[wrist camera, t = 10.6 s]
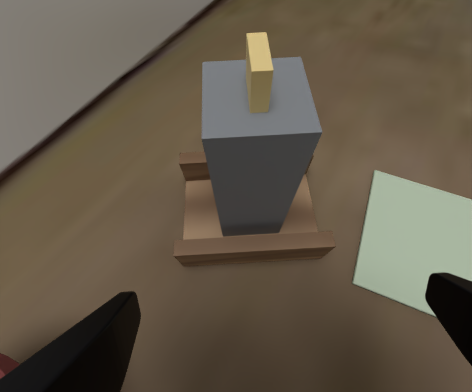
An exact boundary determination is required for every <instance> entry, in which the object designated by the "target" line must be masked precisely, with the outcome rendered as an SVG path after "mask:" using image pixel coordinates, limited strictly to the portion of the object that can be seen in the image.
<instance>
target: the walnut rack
mask: <svg viewBox="0 0 472 392" xmlns="http://www.w3.org/2000/svg"><path fill="white" fill-rule="evenodd" d="M313 157H314V156H313V155H312V157H311V160H310V162H309V164H308V167H307V169H306V171H305V174H304V176H303V178H302V181H301V183H300V185H299V188H298V190H297V192H296V194H295V197H294V199H293V201H292V204H291V206H290V208H289V211H288V213H287V215H286V218H285V220H284V222H283V225H282V227H281V229H280V232H279V233H273V234H256V235H240V236H223V235H222V230H221V226H220V221H219V216H218V212H217V207H216V203H215V198H214V193H213V189H212V184H211V179H210V175H209V170H208V165H207V161H206V156H205V152H189V153H180V161H179V164H180V167H181V169H182V172H183V175H184V177H185V180H186V194H185V215H184V237H183V240H174V255H173V256H174V257H175V258H176V259H177V260H178V261H179V262H180V263H181V264H182V265H183V266H199V265H216V264H233V263H250V262H267V261H284V260H301V259H318V258H322V257H323V256H324V255H326V254H327V253H328V252H329V251H331V250H332V249H333V248H335V247H336V245H335V241H334V237H333V233H332V231H323V232H318V228H317V224H316V219H315V215H314V210H313V206H312V201H311V196H310V192H309V187H308V183H307V178H306V172H307V170H308V168H309V166H310V163H311V161H312V159H313Z"/></svg>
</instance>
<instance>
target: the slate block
mask: <svg viewBox="0 0 472 392" xmlns="http://www.w3.org/2000/svg"><path fill="white" fill-rule="evenodd" d="M321 134H322V130H321V126H320V123H319V119H318V116H317V112H316V109H315V105H314V102H313V98H312V95H311V91H310V88H309V84H308V81H307V77H306V74H305V70H304V66H303V63H302V59H301V57H290V58H271V55H270V50H269V45H268V39H267V34H266V32H263V33H247V43H246V60H233V61H215V62H203V74H202V142H203V147H204V152H205V156H206V161H207V165H208V170H209V175H210V179H211V184H212V189H213V193H214V198H215V203H216V207H217V212H218V216H219V221H220V226H221V230H222V235H223V236H240V235H256V234H273V233H279V232H280V229H281V227H282V225H283V222H284V220H285V218H286V215H287V213H288V211H289V208H290V206H291V204H292V201H293V199H294V197H295V194H296V192H297V190H298V188H299V185H300V183H301V181H302V178H303V176H304V174H305V171H306V169H307V167H308V164H309V162H310V160H311V157H312V155H313V153H314V150H315V148H316V146H317V143H318V141H319V139H320V136H321Z"/></svg>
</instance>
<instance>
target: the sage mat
mask: <svg viewBox="0 0 472 392" xmlns="http://www.w3.org/2000/svg"><path fill="white" fill-rule="evenodd" d="M440 272H447V273H450V274H453V275H456V276H459V277H461V278H464V279H467V280H470V281H472V200H471V199H468V198H465V197H461V196H458V195H455V194H452V193H448V192H445V191H442V190H438V189H435V188H432V187H429V186H425V185H422V184H419V183H416V182H412V181H409V180H406V179H403V178H399V177H396V176H393V175H390V174H386V173H383V172H380V171H377V170H375V171H374V173H373V178H372V183H371V188H370V193H369V198H368V204H367V209H366V214H365V219H364V224H363V229H362V234H361V239H360V244H359V249H358V254H357V260H356V265H355V270H354V275H353V280H352V284H354V285H357V286H359V287H362V288H364V289H367V290H369V291H372V292H374V293H377V294H379V295H382V296H384V297H386V298H389V299H391V300H394V301H396V302H399V303H401V304H404V305H406V306H409V307H411V308H414V309H416V310H419V311H421V312H424V313H426V314H429V315H431V316H434V317H436V315H435V314H434V313H433V311H432V310H431V308H430V307H429V305H428V304H427V302H426V299H425V293H426V288H427V284H428V279H429V276H430V275H431V274H432V273H440ZM436 318H437V317H436Z"/></svg>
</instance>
